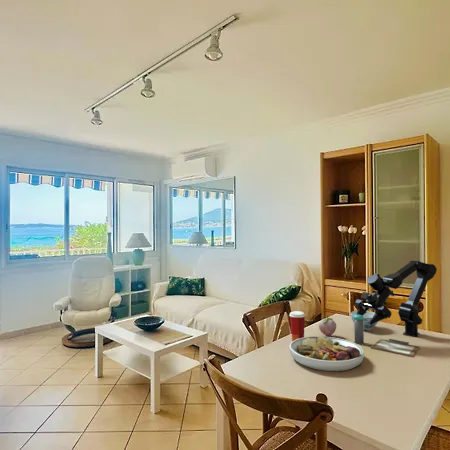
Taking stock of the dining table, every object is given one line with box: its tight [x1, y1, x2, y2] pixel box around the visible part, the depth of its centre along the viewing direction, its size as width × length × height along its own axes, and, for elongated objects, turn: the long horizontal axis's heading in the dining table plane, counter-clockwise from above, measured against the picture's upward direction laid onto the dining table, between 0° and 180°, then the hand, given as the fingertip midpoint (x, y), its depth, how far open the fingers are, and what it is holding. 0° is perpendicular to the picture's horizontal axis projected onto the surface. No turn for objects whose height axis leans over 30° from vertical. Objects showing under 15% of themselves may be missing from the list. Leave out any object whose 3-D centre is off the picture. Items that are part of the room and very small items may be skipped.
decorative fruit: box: [318, 316, 337, 337], centre depth 168 cm, size 9×8×10 cm
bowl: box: [289, 335, 365, 372], centre depth 139 cm, size 30×30×8 cm
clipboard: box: [370, 338, 421, 358], centre depth 150 cm, size 14×17×2 cm
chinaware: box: [349, 310, 379, 331], centre depth 181 cm, size 15×15×8 cm
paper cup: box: [289, 310, 306, 342], centre depth 162 cm, size 8×8×14 cm
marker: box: [353, 315, 365, 345], centre depth 158 cm, size 4×4×13 cm
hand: (363, 321), depth 159 cm, fingers open, 9 cm apart
